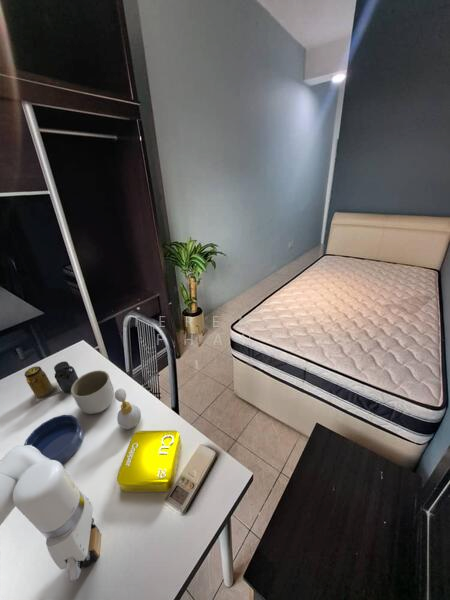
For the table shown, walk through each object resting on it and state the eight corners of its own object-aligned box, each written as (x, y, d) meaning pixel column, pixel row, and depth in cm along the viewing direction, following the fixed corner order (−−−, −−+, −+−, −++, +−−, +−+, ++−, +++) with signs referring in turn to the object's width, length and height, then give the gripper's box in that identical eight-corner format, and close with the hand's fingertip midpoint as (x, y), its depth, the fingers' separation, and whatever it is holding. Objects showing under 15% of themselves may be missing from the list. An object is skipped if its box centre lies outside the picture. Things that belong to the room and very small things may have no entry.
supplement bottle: (58, 391, 99) (46, 369, 93) (72, 379, 105) (62, 357, 99) (70, 395, 97) (59, 373, 91) (84, 383, 103) (74, 361, 97)
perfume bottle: (130, 437, 80) (121, 412, 75) (111, 424, 85) (101, 400, 79) (147, 418, 86) (139, 395, 80) (128, 407, 91) (119, 384, 85)
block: (80, 564, 55) (74, 557, 53) (83, 541, 58) (77, 534, 56) (99, 556, 56) (94, 549, 54) (101, 534, 59) (96, 527, 57)
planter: (123, 397, 95) (116, 376, 90) (96, 423, 85) (86, 402, 80) (102, 386, 100) (94, 366, 95) (73, 410, 91) (63, 389, 86)
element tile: (137, 438, 80) (133, 429, 78) (182, 438, 79) (180, 429, 77) (118, 492, 67) (113, 483, 64) (172, 492, 66) (169, 483, 64)
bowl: (21, 479, 71) (13, 470, 68) (38, 432, 84) (32, 423, 81) (79, 460, 75) (73, 451, 72) (87, 418, 87) (82, 409, 85)
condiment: (34, 391, 100) (21, 369, 94) (58, 381, 104) (47, 359, 98) (35, 403, 95) (21, 380, 89) (60, 391, 99) (48, 369, 93)
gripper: (52, 474, 54) (80, 513, 63) (23, 580, 40) (64, 611, 49) (89, 462, 56) (111, 501, 65) (74, 559, 42) (104, 592, 51)
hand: (90, 548), depth 57 cm, fingers closed on block, 4 cm apart
